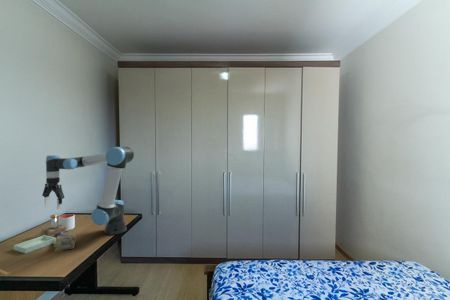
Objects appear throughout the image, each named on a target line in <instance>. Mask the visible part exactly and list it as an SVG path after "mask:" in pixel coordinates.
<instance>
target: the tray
mask: <svg viewBox="0 0 450 300" xmlns="http://www.w3.org/2000/svg"><path fill="white" fill-rule="evenodd" d="M54 243H56V238H54V237H50V236H46V235H43V236H42V235H41V236H38V237H35V238H32V239H28V240H25V241H23V242H20V243H16V244H14V245H13V251H14V252H19V253H21V254H25V255H27V254H29V253H33V252H35V251H37V250H40V249H42V248H45V247H48V246H51V245H54Z"/></svg>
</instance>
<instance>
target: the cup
mask: <svg viewBox="0 0 450 300" xmlns="http://www.w3.org/2000/svg"><path fill="white" fill-rule="evenodd" d="M75 217H76V215H75V214H74V213H73V214H71V213H69V214H63V215H60V216H58V225H60V226H65V227H66V232H68V231H72V230H73V229H74V228H76V224H75V223H76V221H75V220H76V219H75Z"/></svg>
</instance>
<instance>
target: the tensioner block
mask: <svg viewBox="0 0 450 300" xmlns="http://www.w3.org/2000/svg"><path fill="white" fill-rule="evenodd" d="M43 235H46V236H50V237H54V238H57V237H59V236H61V237H63V236H68V235H69V234H68V231H66V227H65V226H60V225H59V224H57V228H56V229H51V226H49V227H45V228H42V229H41V236H43Z"/></svg>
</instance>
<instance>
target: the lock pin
mask: <svg viewBox="0 0 450 300" xmlns="http://www.w3.org/2000/svg"><path fill="white" fill-rule="evenodd" d="M49 218H50V223H51V224H50V227H51V229H56V228H57V225H58V219H57V218H58V214H51V215H50V216H49Z"/></svg>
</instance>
